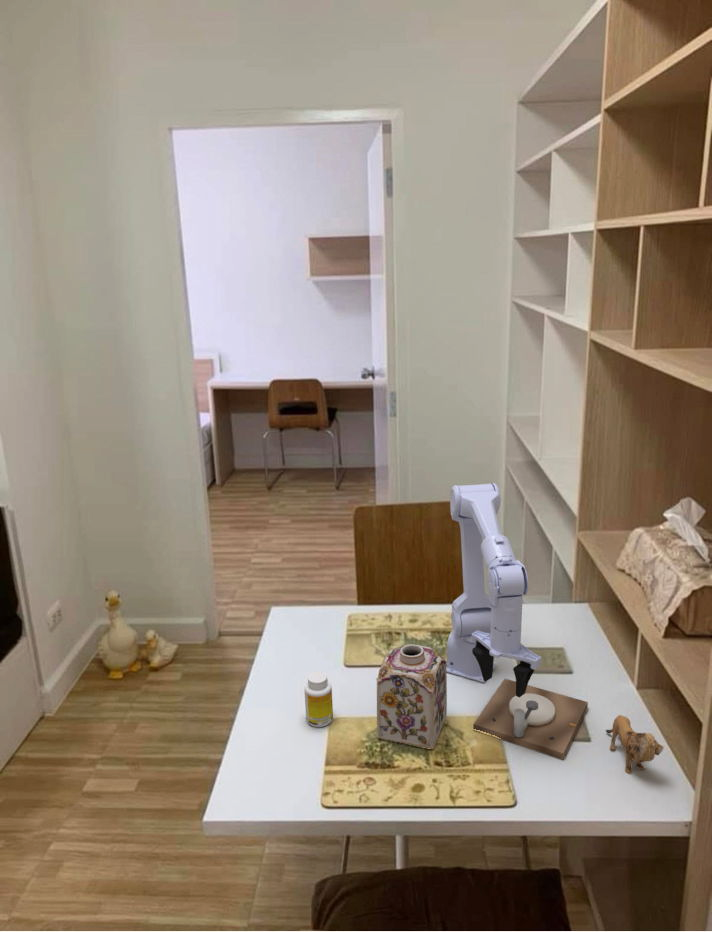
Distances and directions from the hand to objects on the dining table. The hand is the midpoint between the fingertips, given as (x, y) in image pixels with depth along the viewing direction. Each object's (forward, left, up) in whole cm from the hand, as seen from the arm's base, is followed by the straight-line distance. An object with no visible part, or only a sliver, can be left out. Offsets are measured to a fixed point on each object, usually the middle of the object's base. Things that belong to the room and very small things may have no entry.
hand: (503, 686), depth 140 cm
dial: (+4, +4, -9) cm, 10 cm away
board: (+4, +7, -10) cm, 13 cm away
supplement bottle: (-34, -14, -11) cm, 39 cm away
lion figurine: (+23, +4, -11) cm, 26 cm away
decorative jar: (-16, -7, -11) cm, 21 cm away
